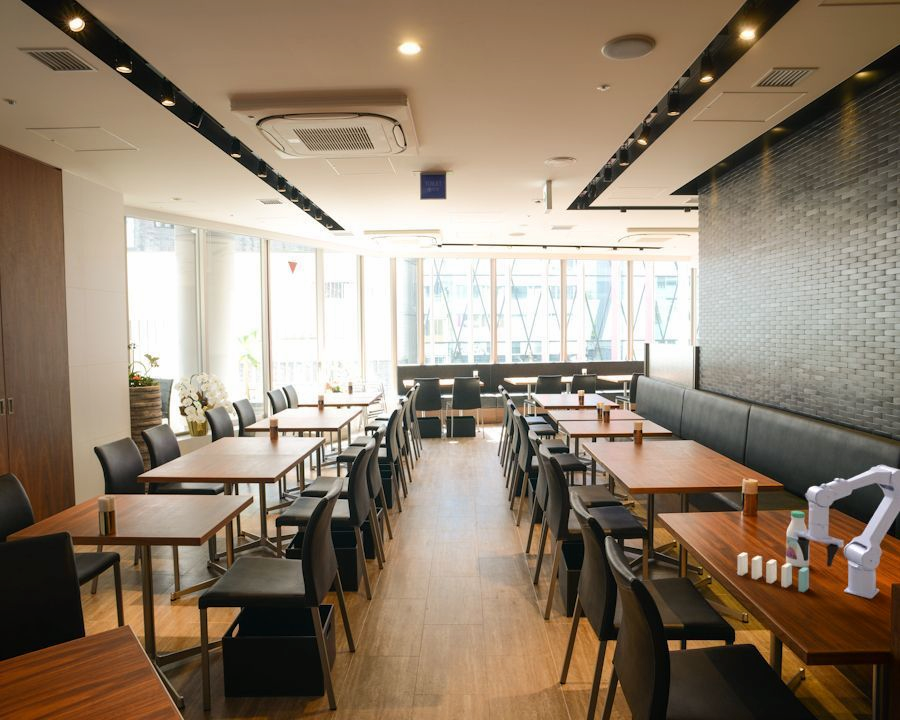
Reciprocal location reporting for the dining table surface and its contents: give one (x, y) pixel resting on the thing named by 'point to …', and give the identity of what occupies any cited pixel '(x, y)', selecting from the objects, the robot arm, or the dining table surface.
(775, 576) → the domino
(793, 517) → the milk bottle
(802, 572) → the domino teal
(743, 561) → the domino
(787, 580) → the domino
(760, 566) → the domino
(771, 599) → the dining table surface
